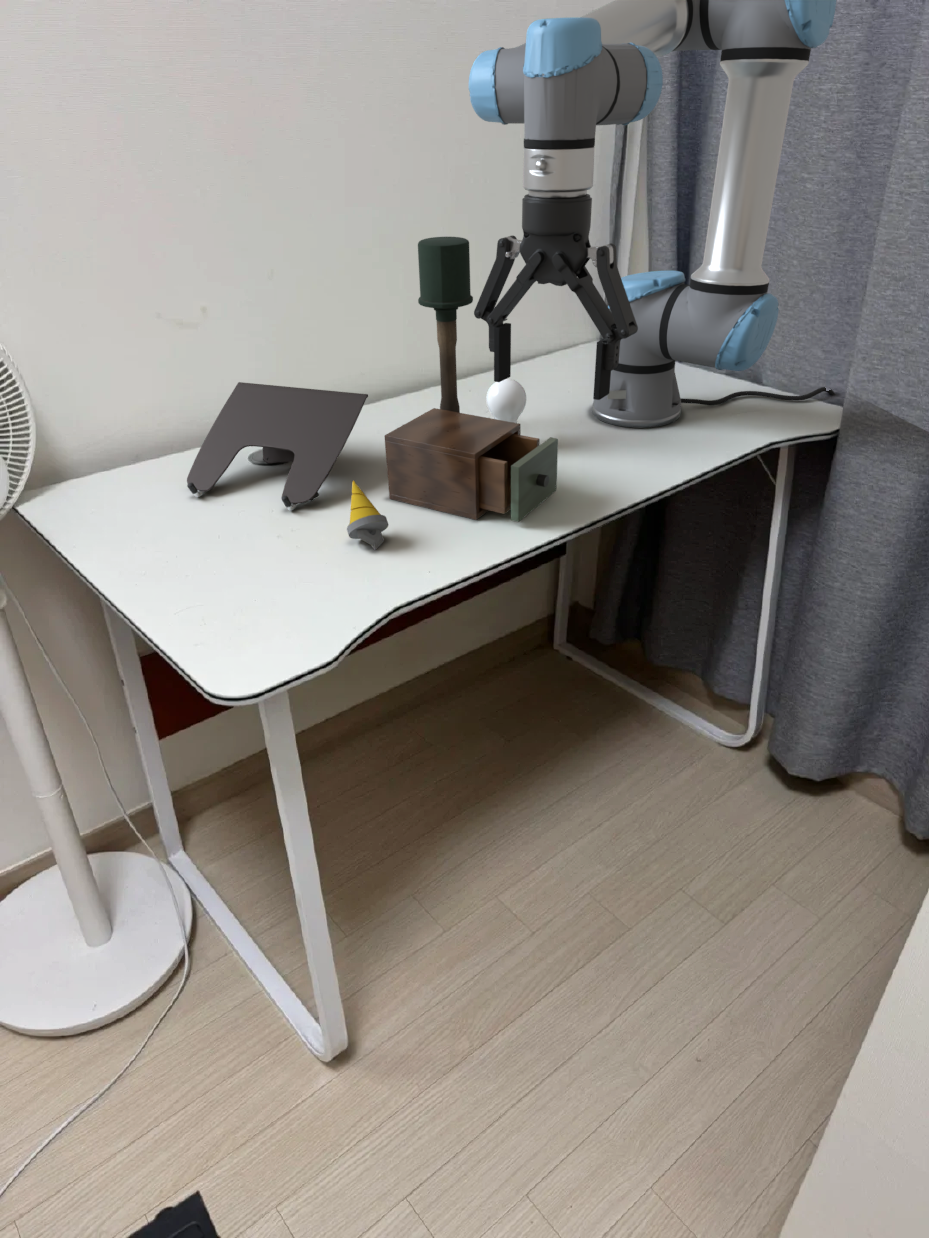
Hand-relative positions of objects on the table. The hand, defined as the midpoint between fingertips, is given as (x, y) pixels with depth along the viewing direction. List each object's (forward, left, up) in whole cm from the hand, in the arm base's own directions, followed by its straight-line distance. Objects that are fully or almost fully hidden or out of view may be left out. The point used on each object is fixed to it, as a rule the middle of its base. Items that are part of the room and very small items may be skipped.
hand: (550, 388), depth 104 cm
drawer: (+4, -10, -18) cm, 21 cm away
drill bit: (+24, -4, -19) cm, 31 cm away
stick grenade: (+4, -40, -19) cm, 45 cm away
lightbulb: (-3, -30, -19) cm, 36 cm away
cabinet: (+9, -15, -19) cm, 26 cm away
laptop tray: (+34, -28, -19) cm, 48 cm away
